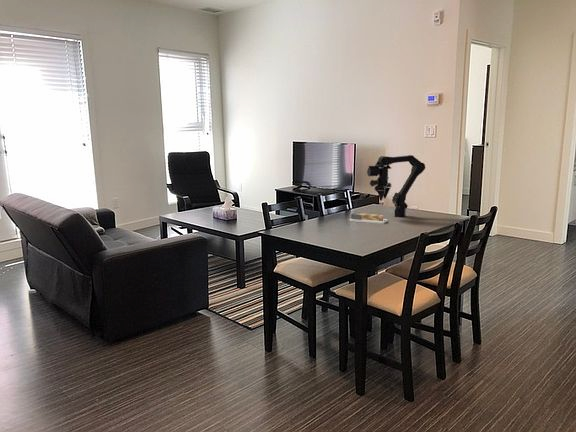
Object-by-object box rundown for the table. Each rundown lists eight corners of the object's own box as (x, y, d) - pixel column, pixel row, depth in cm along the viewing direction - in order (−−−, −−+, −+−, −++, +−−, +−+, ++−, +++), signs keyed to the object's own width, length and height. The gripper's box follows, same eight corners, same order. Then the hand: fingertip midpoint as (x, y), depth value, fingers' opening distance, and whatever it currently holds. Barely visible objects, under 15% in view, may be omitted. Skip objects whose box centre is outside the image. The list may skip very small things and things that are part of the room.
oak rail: (383, 219, 293) (383, 215, 292) (381, 221, 289) (381, 216, 289) (356, 217, 301) (356, 213, 301) (353, 218, 298) (353, 214, 297)
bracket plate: (387, 221, 294) (387, 214, 294) (383, 223, 287) (383, 217, 286) (354, 218, 304) (354, 212, 303) (349, 221, 296) (349, 214, 296)
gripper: (375, 173, 313) (375, 196, 316) (367, 176, 296) (366, 200, 299) (391, 174, 308) (391, 197, 311) (384, 177, 291) (383, 201, 294)
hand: (382, 199), depth 304 cm, fingers open, 9 cm apart
